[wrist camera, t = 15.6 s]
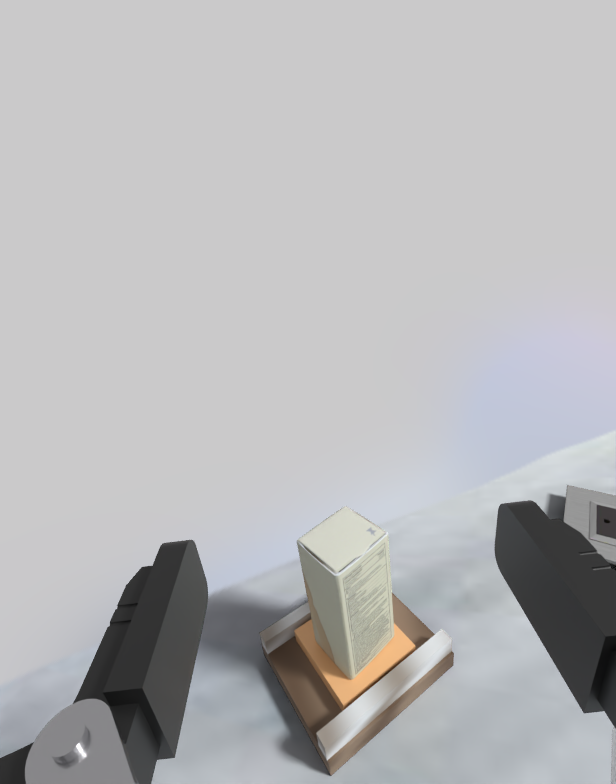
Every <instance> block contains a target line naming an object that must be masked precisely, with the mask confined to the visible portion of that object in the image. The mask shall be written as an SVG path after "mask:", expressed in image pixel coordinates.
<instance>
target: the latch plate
mask: <svg viewBox="0 0 616 784" xmlns="http://www.w3.org/2000/svg"><path fill="white" fill-rule="evenodd" d="M294 632H295V637H296V641H297V642H298V644H299V645H300V647H301V649H302V650H303V652H304V653H305V655H306V656H307V658H308V659H309V661H310V662H311V664H312V665H313V667H314V669H315V670H316V672H317V673H318V675H319V676H320V678H321V679H322V681H323V682H324V684H325V685H326V687H327V689H328V690H329V692H330V693H331V695H332V696H333V698H334V699H335V701H336V702H337V704H338V705H339V707H340V709H341V710H342V711H343V710H345V709H346V708H347V707H348V706H349V705H351V704H352V703H353V702H354V701H355V700H357V699H358V698H359V697H360V696H361V695H363V694H364V693H365V692H366V691H368V690H369V689H370V688H371V687H372V686H374V685H375V684H376V683H377V682H378V681H380V680H381V679H382V678H383V677H384V676H386V675H387V674H388V673H389V672H390V671H392V670H393V669H394V668H395V667H396V666H398V665H399V664H400V663H401V662H402V661H404V660H405V659H406V658H407V657H408V656H410V655H411V654H412V653H413V652H415V651H416V647H415V645H414V644H413V642H412V641H411V640H410V639H409V638H408V637H407V636H406V635H405V634H404V633H403V632H402V631H401V630H400V629H399V628H398V627H397V625H396V624H395V623H394V637H393V638H392V639H391V640H390V641H389V642H388V644H387V645H386V646H385V647H384V648H383V649H382V650H381V651H380V652H379V654H378V655H377V656H376V657H375V658H374V659H373V660H372V661H371V662H370V663H369V664H368V665H367V666H366V667H365V668H364V669H363V670H362V671H361V672H360V673H359V674H358V675H357V676H356V677H355V678H354V679H352V680H350V679H349V678H348V677H347V676H346V675H345V674H344V673H343V672H342V671H341V670H340V669H339V668H338V666H337V665H336V664H335V663H334V662H333V661H332V660H331V659H330V657H329V656H328V655H327V654H326V653H325V652H324V650H323V649H322V648H321V647H320V646H319V644H318V643H317V642H316V640H315V635H314V630H313V624H312V619H311V620H309V621H308V622H306V623H305V624H303V625H302V626H300V627H299V628H297V629H296V630H294Z"/></svg>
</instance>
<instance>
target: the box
mask: <svg viewBox="0 0 616 784" xmlns="http://www.w3.org/2000/svg"><path fill="white" fill-rule="evenodd" d="M297 545H298V549H299V556H300V561H301V566H302V571H303V576H304V582H305V588H306V593H307V597H308V603H309V608H310V613H311V619H312V624H313V630H314V635H315V640H316V642H317V643H318V644H319V646H320V647H321V648H322V649H323V650H324V652H325V653H326V654H327V655H328V656H329V657H330V659H331V660H332V661H333V662H334V663H335V664H336V665H337V666H338V668H339V669H340V670H341V671H342V672H343V673H344V674H345V675H346V676H347V677H348V678H349V679H350V680H352V679H354V678H355V677H356V676H357V675H358V674H359V673H360V672H361V671H362V670H363V669H364V668H365V667H366V666H367V665H368V664H369V663H370V662H371V661H372V660H373V659H374V658H375V657H376V656H377V655H378V654H379V652H380V651H381V650H382V649H383V648H384V647H385V646H386V645H387V644H388V642H389V641H390V640H391V639H392V638H393V637H394V620H393V604H392V588H391V572H390V556H389V540H388V533H387V532H386V531H384V530H383V529H381V528H380V527H378V526H377V525H375V524H374V523H372V522H371V521H369V520H368V519H366V518H365V517H363V516H361V515H360V514H358V513H357V512H355V511H353V510H352V509H350V508H349V507H347V506H345V507H343V508H342V509H340V510H339V511H337V512H336V513H334V514H333V515H331V516H330V517H328V518H327V519H326V520H324V521H323V522H321V523H320V524H319V525H317V526H316V527H314V528H313V529H312V530H310V531H309V532H308V533H306V534H305V535H304V536H302V537H301V538H299V539H298V540H297Z"/></svg>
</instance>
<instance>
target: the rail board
mask: <svg viewBox="0 0 616 784" xmlns="http://www.w3.org/2000/svg"><path fill="white" fill-rule="evenodd" d="M392 604H393V620H394V623H395V624H396V625H397V627H398V628H399V629H400V630H401V631H402V632H403V633H404V634H405V635H406V636H407V637H408V638H409V639H410V640H411V641H412V642H413V644H414V645H415V647H416V651H415V652H413V653H412V654H411V655H410V656H408V657H407V658H406V659H405V660H404V661H402V662H401V663H400V664H399V665H398V666H396V667H395V668H394V669H393V670H392V671H390V672H389V673H388V674H387V675H386V676H384V677H383V678H382V679H381V680H380V681H378V682H377V683H376V684H375V685H374V686H372V687H371V688H370V689H369V690H368V691H366V692H365V693H364V694H363V695H361V696H360V697H359V698H358V699H357V700H355V701H354V702H353V703H352V704H351V705H349V706H348V707H347V708H346V709H345V710H343V711H342V710H341V709H340V707H339V705H338V704H337V702H336V701H335V699H334V698H333V696H332V695H331V693H330V692H329V690H328V689H327V687H326V685H325V684H324V682H323V681H322V679H321V678H320V676H319V675H318V673H317V672H316V670H315V669H314V667H313V665H312V664H311V662H310V661H309V659H308V658H307V656H306V655H305V653H304V652H303V650H302V649H301V647H300V645H299V644H298V642H297V641H296V637H295V632H294V630H296V629H297V628H299V627H300V626H302V625H303V624H305V623H306V622H308V621H309V620H311V613H310V608H309V603H308V602H307V603H305V604H303V605H302V606H300V607H299V608H297V609H296V610H294V611H293V612H291V613H290V614H288V615H286V616H285V617H283V618H282V619H280V620H279V621H277V622H276V623H274V624H272V625H271V626H269V627H268V628H266V629H265V630H263V631H262V632H260V637H261V641H262V647H263V651H264V655H265V657H266V658H267V660H268V662H269V664H270V666H271V667H272V669H273V671H274V673H275V675H276V677H277V678H278V680H279V682H280V684H281V686H282V688H283V689H284V691H285V693H286V695H287V697H288V698H289V700H290V702H291V704H292V706H293V708H294V709H295V711H296V713H297V715H298V717H299V719H300V720H301V722H302V724H303V726H304V728H305V729H306V731H307V733H308V735H309V737H310V739H311V740H312V742H313V744H314V746H315V748H316V749H317V751H318V753H319V755H320V757H321V759H322V760H323V762H324V764H325V766H326V768H327V770H328V771H329V773H330V775H333V774H334V773H335V772H336V771H337V770H338V769H339V768H340V767H341V766H342V765H344V764H345V763H346V762H347V761H348V760H349V759H350V758H351V757H352V756H353V755H355V754H356V753H357V752H358V751H359V750H360V749H361V748H362V747H363V746H365V745H366V744H367V743H368V742H369V741H370V740H371V739H372V738H373V737H374V736H376V735H377V734H378V733H379V732H380V731H381V730H382V729H383V728H384V727H385V726H387V725H388V724H389V723H390V722H391V721H392V720H393V719H394V718H395V717H397V716H398V715H399V714H400V713H401V712H402V711H403V710H404V709H405V708H406V707H408V706H409V705H410V704H411V703H412V702H413V701H414V700H415V699H416V698H418V697H419V696H420V695H421V694H422V693H423V692H424V691H425V690H426V689H427V688H429V687H430V686H431V685H432V684H433V683H434V682H435V681H436V680H437V679H438V678H440V677H441V676H442V675H443V674H444V673H445V672H446V671H447V670H448V669H450V668H451V667H452V666H453V657H454V653H453V652H452V638H451V637H450V636H449V635H448V634H447V633H446V632H445V631H444V630H443V629H441V630H440V631H439V632H437V633H436V634H434V633H433V632H432V631H431V630H430V629H429V628H428V627H427V626H426V625H425V624H424V623H422V622H421V621H420V620H419V619H418V618H417V617H416V616H415V615H414V614H413V613H412V612H411V611H410V610H409V609H408V608H407V607H406V606H405V605H404V604H403V603H402V602H401V601H400V600H399V599H398V598H397V597H396V596H395V595H394V594H393V593H392Z"/></svg>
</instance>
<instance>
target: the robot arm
mask: <svg viewBox="0 0 616 784" xmlns="http://www.w3.org/2000/svg"><path fill="white" fill-rule="evenodd" d="M495 557H496V561H497V564H498V567H499V569H500V572H501V574H502V575H503V577H504V579H505V580H506V582H507V584H508V585H509V587H510V589H511V591H512V592H513V594H514V596H515V597H516V599H517V601H518V602H519V604H520V606H521V607H522V609H523V611H524V613H525V614H526V616H527V618H528V619H529V621H530V623H531V624H532V626H533V628H534V630H535V631H536V633H537V635H538V636H539V638H540V640H541V641H542V643H543V645H544V646H545V648H546V650H547V652H548V653H549V655H550V657H551V658H552V660H553V662H554V663H555V665H556V667H557V668H558V670H559V672H560V674H561V675H562V677H563V679H564V680H565V682H566V684H567V685H568V687H569V689H570V690H571V692H572V694H573V696H574V697H575V699H576V701H577V702H578V704H579V706H580V707H581V709H582V711H583V712H584V713H591V712H600V711H605V713H606V714H607V716H608V717H609V719H610V721H611V722H612V724H613V725H614V728H613V732H612V761H611V784H616V570H615V569H612V568H611V565H610V564H609V563H608V562H607V561H606V560H605V558H604V557H603V556H602V555H601V554H598V553H597V550H596V549H595V548H594V546H593V545H592V544H591V543H590V542H589V541H588V540H587V539H586V538H585V537H584V536H583V534H582V533H581V532H579V531H577V530H576V529H574V528H573V527H571V526H570V525H568V524H566V523H565V522H563V521H562V520H560V519H552V520H550V519H549V518H548V517H547V515H546V514H545V513H544V512H543V511H542V510H541V508H540V507H539V506H538V505H537V504H536V503H535V502H533V501H522V502H513V503H505V504H501V505H500V506H499V509H498V518H497V528H496V538H495ZM207 602H208V587H207V581H206V577H205V574H204V571H203V568H202V564H201V561H200V558H199V555H198V551H197V548H196V545H195V543H194V541H193V540H186V541H178V542H170V543H164V544H162V545H161V547H160V549H159V551H158V554H157V556H156V559H155V561H154V564H153V566H147V567H142V568H141V569H140V570H139V571H138V572H137V574H136V575H135V576H134V577H133V578H132V579H131V580H130V582H129V583H128V584H127V585H126V588H125V589H124V592H123V594H122V596H121V599H120V601H119V603H118V608H117V609H116V610H115V612H114V614H113V616H112V619H111V621H110V626H109V627H108V628H107V630H106V632H105V635H104V637H103V639H102V641H101V644H100V646H99V648H98V650H97V653H96V655H95V657H94V659H93V662H92V664H91V666H90V668H89V671H88V673H87V675H86V677H85V680H84V682H83V684H82V686H81V689H80V691H79V693H78V695H77V697H76V699H75V701H74V703H73V704H72V705H70V706H68V707H67V708H65V709H63V710H62V711H61V712H59V713H58V714H57V715H56V716H55V717H54V718H53V719H52V720H50V721H49V723H48V724H47V725H46V726H45V727H44V728H43V730H42V731H41V732H40V734H39V735H38V736H37V738H36V740H35V741H34V742H33V743H31V744H30V745H28V746H26V747H24V748H22V749H19V750H17V751H15V752H13V753H11V754H9V755H6V756H4V757H2V758H0V784H151V781H152V777H153V773H154V769H155V765H156V761H157V760H159V759H167V758H175V754H176V749H177V744H178V740H179V735H180V730H181V725H182V721H183V716H184V711H185V707H186V702H187V697H188V693H189V688H190V683H191V679H192V674H193V669H194V665H195V660H196V655H197V651H198V646H199V641H200V637H201V632H202V627H203V622H204V618H205V613H206V608H207Z"/></svg>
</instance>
